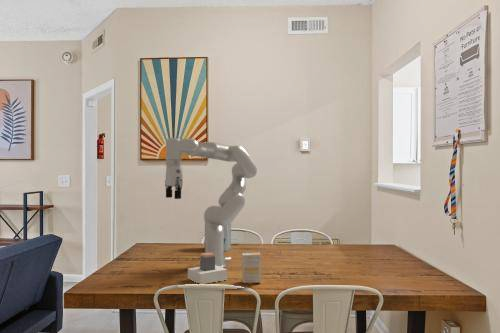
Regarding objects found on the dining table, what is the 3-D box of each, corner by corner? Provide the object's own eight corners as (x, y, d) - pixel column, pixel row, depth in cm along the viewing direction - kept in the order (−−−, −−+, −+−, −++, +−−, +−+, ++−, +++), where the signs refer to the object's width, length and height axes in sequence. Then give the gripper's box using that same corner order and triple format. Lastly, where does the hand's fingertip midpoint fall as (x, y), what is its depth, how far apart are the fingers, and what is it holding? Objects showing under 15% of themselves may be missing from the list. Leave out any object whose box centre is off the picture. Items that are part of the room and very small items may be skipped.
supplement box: (259, 280, 185) (260, 252, 185) (260, 283, 180) (260, 254, 180) (241, 281, 185) (242, 252, 185) (242, 284, 180) (242, 254, 180)
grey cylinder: (209, 277, 190) (209, 252, 190) (214, 280, 186) (215, 254, 186) (200, 279, 187) (200, 253, 187) (205, 281, 183) (205, 255, 183)
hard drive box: (204, 249, 255) (204, 218, 255) (208, 247, 262) (209, 216, 263) (227, 251, 251) (227, 219, 251) (231, 249, 258) (231, 217, 258)
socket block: (213, 274, 195) (213, 264, 195) (227, 280, 186) (227, 269, 186) (187, 279, 187) (187, 268, 187) (200, 285, 177) (200, 273, 177)
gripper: (188, 163, 193) (188, 198, 193) (172, 163, 207) (172, 196, 207) (174, 163, 189) (174, 199, 189) (159, 163, 203) (158, 197, 203)
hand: (173, 198), depth 198 cm, fingers open, 9 cm apart
